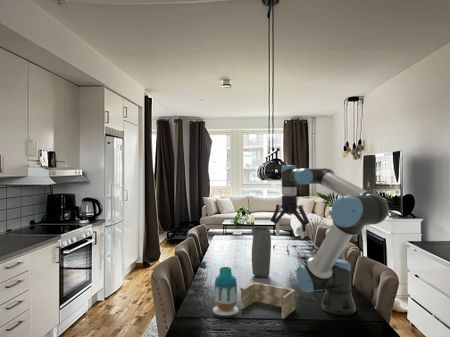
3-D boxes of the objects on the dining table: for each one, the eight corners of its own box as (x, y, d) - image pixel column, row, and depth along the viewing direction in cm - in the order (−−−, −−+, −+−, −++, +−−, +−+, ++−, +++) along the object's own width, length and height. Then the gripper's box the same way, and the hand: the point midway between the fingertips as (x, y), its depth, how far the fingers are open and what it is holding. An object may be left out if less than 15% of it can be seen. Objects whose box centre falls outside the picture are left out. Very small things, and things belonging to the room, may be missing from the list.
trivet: (243, 308, 165) (243, 307, 165) (229, 317, 155) (229, 316, 155) (222, 303, 171) (222, 302, 171) (207, 312, 162) (207, 310, 162)
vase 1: (215, 305, 169) (215, 265, 169) (237, 305, 168) (236, 265, 169) (214, 313, 158) (213, 271, 159) (237, 313, 157) (236, 271, 158)
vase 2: (257, 272, 226) (257, 226, 227) (274, 275, 219) (273, 227, 220) (247, 276, 216) (247, 228, 217) (265, 280, 209) (264, 230, 210)
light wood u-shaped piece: (295, 309, 164) (295, 288, 164) (283, 319, 152) (282, 296, 153) (254, 300, 176) (254, 280, 176) (240, 308, 165) (240, 288, 165)
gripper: (315, 195, 174) (316, 237, 173) (270, 194, 188) (271, 233, 187) (310, 196, 168) (310, 240, 167) (264, 195, 182) (264, 235, 181)
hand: (289, 236), depth 177 cm, fingers open, 13 cm apart
